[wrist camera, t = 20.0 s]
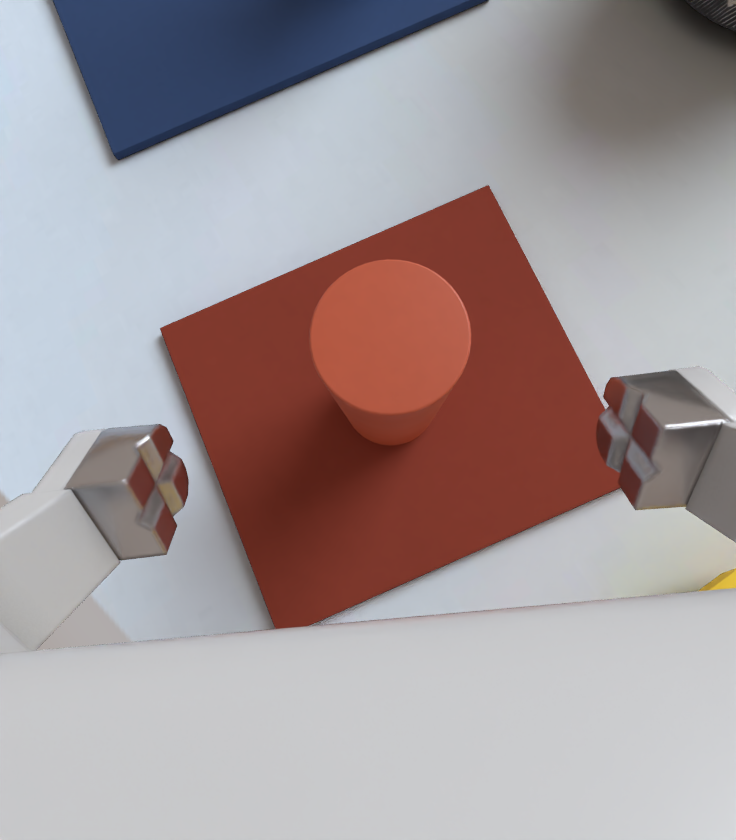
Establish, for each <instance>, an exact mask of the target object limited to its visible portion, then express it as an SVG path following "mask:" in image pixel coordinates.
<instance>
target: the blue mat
mask: <svg viewBox="0 0 736 840" xmlns="http://www.w3.org/2000/svg"><path fill="white" fill-rule="evenodd" d="M485 1H487V0H53V2H54V4H55V7H56V9H57V12H58V14H59V17H60V20H61V22H62V25H63V27H64V30H65V32H66V35H67V37H68V40H69V43H70V45H71V48H72V50H73V53H74V55H75V58H76V60H77V63H78V66H79V68H80V71H81V73H82V76H83V78H84V81H85V83H86V86H87V88H88V91H89V94H90V96H91V99H92V101H93V104H94V106H95V109H96V111H97V114H98V117H99V119H100V122H101V124H102V127H103V129H104V132H105V134H106V137H107V140H108V142H109V145H110V147H111V150H112V152H113V154H114V156H115V157H116V158H117V159H118V160H120V159H122V158H124V157H127V156H129V155H131V154H133V153H136V152H138V151H140V150H143V149H145V148H147V147H150V146H152V145H154V144H157V143H159V142H161V141H164V140H166V139H168V138H170V137H173V136H175V135H177V134H180V133H182V132H184V131H187V130H189V129H191V128H194V127H196V126H198V125H201V124H203V123H205V122H207V121H210V120H212V119H214V118H217V117H219V116H221V115H224V114H226V113H228V112H231V111H233V110H235V109H238V108H240V107H242V106H244V105H247V104H249V103H251V102H254V101H256V100H258V99H261V98H263V97H265V96H268V95H270V94H272V93H275V92H277V91H279V90H281V89H284V88H286V87H288V86H291V85H293V84H295V83H298V82H300V81H302V80H305V79H307V78H309V77H312V76H314V75H316V74H318V73H321V72H323V71H325V70H328V69H330V68H332V67H335V66H337V65H339V64H342V63H344V62H346V61H349V60H351V59H353V58H355V57H358V56H360V55H362V54H365V53H367V52H369V51H372V50H374V49H376V48H379V47H381V46H383V45H386V44H388V43H390V42H393V41H395V40H397V39H399V38H402V37H404V36H406V35H409V34H411V33H413V32H416V31H418V30H420V29H423V28H425V27H427V26H430V25H432V24H434V23H436V22H439V21H441V20H443V19H446V18H448V17H450V16H453V15H455V14H457V13H460V12H462V11H464V10H467V9H469V8H471V7H473V6H476V5H478V4H480V3H483V2H485Z"/></svg>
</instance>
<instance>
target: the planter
mask: <svg viewBox="0 0 736 840" xmlns="http://www.w3.org/2000/svg"><path fill="white" fill-rule="evenodd" d="M685 1H686V2H687V3H688V4H689V5H690V6H691V7H693V8H694V9H695V10H696V11H698V12H699V13H700V14H702V15H703V16H705V17H706V18H708V19H710V20H711V21H713V22H715V23H717V24H719V25H721V26H723V27H725V28H728V29H730V30H733V31H736V0H685Z"/></svg>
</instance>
